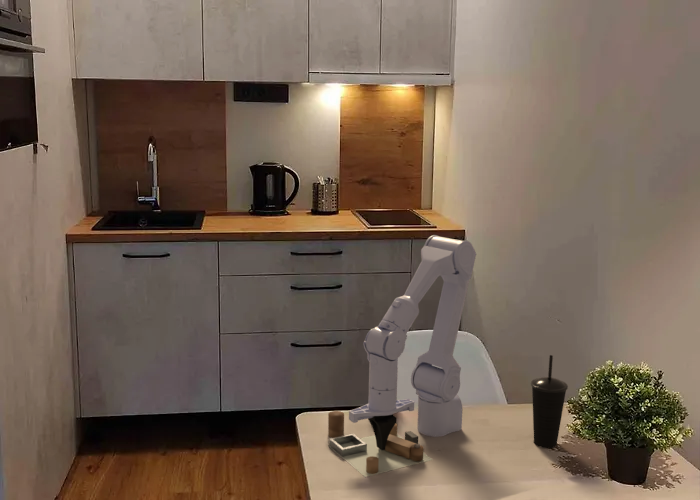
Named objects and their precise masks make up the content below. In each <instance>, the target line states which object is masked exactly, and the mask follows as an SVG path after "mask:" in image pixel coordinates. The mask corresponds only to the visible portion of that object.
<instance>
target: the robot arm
mask: <svg viewBox="0 0 700 500" xmlns="http://www.w3.org/2000/svg"><path fill="white" fill-rule="evenodd" d="M476 257H477V253H476V250H475V248H474V246H473V244H472V243H471V242H470V241H468V240H459V239H454V238H451V237H450V238H449V237H444V236H439V235H437V234H433V235H431V236H429V237H428V238H427V239H426V241H425V243H424V245H423V247H422V248H421V249H420V258H421V261H420V263H419V265H418V268H416V271H415V273H414V274H413V276H412V278H411V280H410V283H409V284H408V286H407V288H406V290H405V292H404V294H403V295H402V296H397V297H396V298H394V300H393V301H392V303H391V304H390V306H389V308H388V309H387V311H386V313H385V314H384V316H383V317H382V319H381V321H380V322H379V324H378V325H377V326H374V328H370V330H369V331H368V332H367V334H366V335H365V339H364V341H363V345H362V346H363V349H364V350H365V352H366V354H367V356H366V358H367V361H368V362H369V365H368V367H369V368H368V398H367V399H368V403H366V404H365V405H362V406H360V407H356V408H354V409H350V410H349V411H348V420H349V421H350V422H351V423H353V424H355V423H358V421H363V420H367V419H368V422H369V423H370V426H371V428H372V430H373V435H375V437H376V444H377V447H378V448H379V449H381V450H385V447H386V442H387V439H388V436H389V434H390V432H391V430H392V428H393V427H394V425H395V424H397V416H395V414H396V413H402V412H407V411H409V412H413V411H415V401H414V400H411V399H410V398H406V399H397V400H396V397H397V398H398V372H397V367H398V365H399V362H398V360H399V358H400V357H401V356H402V354H403V353H404V350H405V346H406V340H407V339H408V335H407V333H408V332H409V331H410V330H411V327H412V325H413V324H414V322H415V321H416V319H417V317H418V316H419V314H420V309H419V303H420V302H421V301H422V299H423V298H424V297H425V295H426V293H427V292H428V291H429V290H430V288H431V287H432V285H433V284H434V283H435V282H436V280H437V279H438V277H441V279H442V280H443V284H442V288H441V294H440V298H439V302H438V306H437V311H436V315H435V321H434V324H433V328H432V329H433V330H432V334H431V338H430V344H429V346H428V350H427V351H426V352H424V353H422V354H420V355H419V356H418V357H417V362H416V364H415V367H413V370H412V372H411V376H410V377H411V378H410V383H411V386H412V388H413V389H415V394H416V395H417V397H418V401H417V427H416V428H417V432H418V433H420V434H422V435H425V436H428V437H435V438H437V437H443V436H447V435H449V434H451V433H454V432H455V433H456V432H458V431H461V430H462V429H463V427H462V425H463V403H462V400H461V398H460V397H459V395H458V393H459V392H460V388H461V370H462V367H461V366H460V364H459V363H458V362H457V360H456V358H455V357H454V355H453V354H454V351H455V347H456V341H457V337H458V335H459V333H458V332H459V329H460V325H461V324H460V323H461V320H462V315H463V311H464V307H465V301H466V298H467V297H466V296H467V292H468V288H469V282H470V280H471V279H472V274H473V270H474V266H475V263H476V262H475V261H476ZM398 368H399V367H398Z"/></svg>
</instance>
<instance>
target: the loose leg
mask: <svg viewBox="0 0 700 500" xmlns="http://www.w3.org/2000/svg"><path fill="white" fill-rule="evenodd" d="M327 419H328V420H327V423H328V426H327V427H328V430H327V435H328V437H329V438H330V439H331V438H335V437H339V436H344V435H345V413H344V412H343V411H341V410H340V411H339V410H334V411H333V410H332V411H330V412H328V417H327Z"/></svg>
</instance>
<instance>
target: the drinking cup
mask: <svg viewBox="0 0 700 500" xmlns="http://www.w3.org/2000/svg"><path fill="white" fill-rule="evenodd" d="M553 357H554V355H551V354H550V355H549V358H548V359H549V361H548V374H547V376H542V377H541V376H540V377H539V378H534V379H532V380H531V382H530V386H531V388H532V389H531V390H532V391H531V392H532V393H531V394H532V395H531V396H532V423H533V425H532V427H533V443H534V445H535V446H537V447H539V448H542V449H552V448H556V447H557V445H558V444H557V443H558V438H559V434H560V428H561V427H560V426H561V421H562V416H563V410H564V404H565V398H566V392H567V390H568V389H569V388H568V387H569V386H568V384H567V383H566V382H565V381H563V380H560V379H559V378H556V377H553V375H552V372H553V359H554V358H553Z"/></svg>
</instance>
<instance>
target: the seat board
mask: <svg viewBox="0 0 700 500" xmlns="http://www.w3.org/2000/svg"><path fill="white" fill-rule="evenodd" d="M390 434H391V435H394V436H396V437H399V438H402V439H405V440H408V441H410V442H413V443H416V444H419V435H417V434H416V433H414V432H413V431H411V430H408V431H405V432H404V438H403V437H402V436H401V435H400V434H398V424H397V423H396V424H395V425H394V427H393V428H392V430H391V432H390ZM359 438H360V437H359ZM360 439H361V440H362V441H364V442H365V443H366V444H367V451H365V452H361V453H357V454H353V455H349V456H345V457H342V456H340V455H339V454H338V453H337V452H336V451H334V450H333V449H332V448H331V447H330V446H329V445H328V447H329V448H330V449H331V450H333V451H334V452H335V454H336V455H338V456H340V457H341V458H342V459H343V460H344V461H346V462H347V463H348V464H349V465H350V466H351V467H352V468H353V469H355V470H356V472H358V473H359V474H360V475H362V476H363V477H364V478H367V477H371V476H375V475H379V474H383V473H386V472H392V471H394V470H399V469H403V468H406V467H407V468H408V467H409V466H415V465H418V464H422V463H426V462H430V461H434V459H433V458H431V457H430V455H427V454H426V453H424V452H423V460H421V461H413V460H411V459H408V458H405V457H402V456H400V455H397V454H394V453H392V452H389V451H386V450H381V449H379V448H378V447H377V444H376V437H375V434H373V435H369V436H364V437H361V438H360ZM354 445H355V444H354V443H353V442H350V443H346V444H341V445H340V446H342V447H343V448H346V447H350V446H354Z"/></svg>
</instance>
